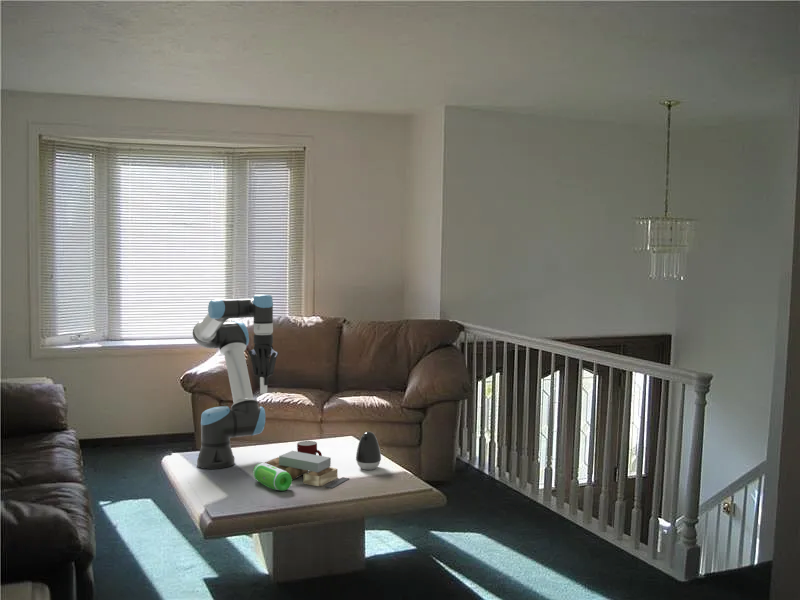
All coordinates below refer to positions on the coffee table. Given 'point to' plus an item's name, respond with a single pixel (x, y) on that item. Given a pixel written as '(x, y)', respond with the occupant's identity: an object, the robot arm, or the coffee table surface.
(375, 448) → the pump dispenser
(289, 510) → the coffee table surface
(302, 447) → the mug
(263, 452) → the coffee table surface
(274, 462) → the roller bed
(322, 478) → the open rectangular frame
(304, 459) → the slab
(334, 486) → the stop strip
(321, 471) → the roller
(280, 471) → the speaker
